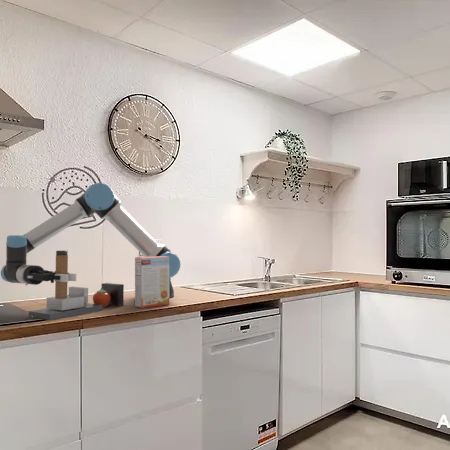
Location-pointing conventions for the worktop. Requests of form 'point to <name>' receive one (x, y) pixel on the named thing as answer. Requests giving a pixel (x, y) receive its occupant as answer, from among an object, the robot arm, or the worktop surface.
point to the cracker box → (151, 281)
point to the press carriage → (76, 294)
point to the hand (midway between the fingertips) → (71, 277)
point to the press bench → (116, 300)
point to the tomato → (101, 298)
